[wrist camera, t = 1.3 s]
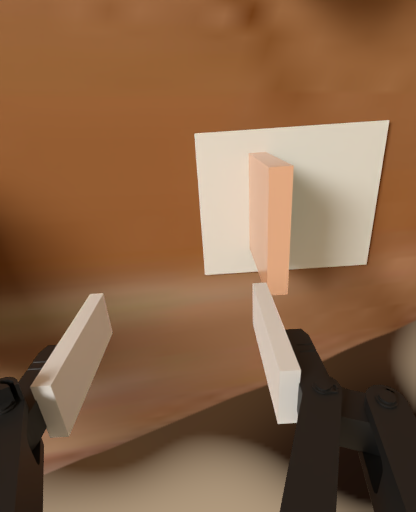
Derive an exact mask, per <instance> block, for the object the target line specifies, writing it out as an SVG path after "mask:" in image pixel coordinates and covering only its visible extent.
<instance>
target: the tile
mask: <svg viewBox="0 0 416 512" xmlns="http://www.w3.org/2000/svg"><path fill="white" fill-rule="evenodd" d="M293 171H294V166H293V165H291V164H289V163H287V162H285V161H283V160H281V159H279V158H277V157H275V156H273V155H271V154H269V153H267V152H257V153H249V248H250V251H251V254H252V256H253V259H254V262H255V265H256V267H257V270H258V273H259V275H260V278H261V281H262V283H267V286H268V288H269V291H270V293H271V295H283V294H288V277H289V256H290V235H291V213H292V192H293Z"/></svg>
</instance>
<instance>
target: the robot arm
mask: <svg viewBox="0 0 416 512" xmlns="http://www.w3.org/2000/svg"><path fill="white" fill-rule="evenodd" d="M253 326H254V330H255V334H256V338H257V342H258V346H259V350H260V354H261V358H262V362H263V366H264V370H265V374H266V378H267V382H268V386H269V390H270V394H271V398H272V402H273V406H274V410H275V414H276V418H277V422H278V424H285V423H297V425H296V430H295V435H294V440H293V446H292V451H291V456H290V462H289V467H288V472H287V477H286V482H285V487H284V493H283V498H282V503H281V508H280V512H336V501H337V482H338V463H339V446H341V447H345V448H349V449H353V450H357V451H358V453H359V457H360V461H361V465H362V468H363V472H364V476H365V479H366V483H367V487H368V490H369V494H370V498H371V502H372V505H373V509H374V512H416V418H415V416H414V414H413V412H412V410H411V408H410V406H409V404H408V401H407V400H406V399H405V397H404V396H403V395H402V394H401V393H399V392H398V391H397V390H395V389H393V388H391V387H388V386H384V385H373V386H371V387H369V388H368V389H367V391H366V393H363V392H358V391H353V390H349V389H345V388H343V387H341V386H340V384H339V383H338V382H337V381H336V380H335V379H333V378H332V377H330V376H329V375H328V373H327V371H326V369H325V367H324V365H323V363H322V361H321V359H320V357H319V355H318V353H317V352H316V349H315V347H314V345H313V343H312V341H311V339H310V337H309V335H308V334H307V333H305V332H304V331H303V330H302V329H289V330H285V329H284V326H283V324H282V321H281V318H280V316H279V313H278V311H277V308H276V306H275V303H274V301H273V298H272V296H271V293H270V291H269V288H268V286H267V283H253ZM112 333H113V332H112V327H111V323H110V319H109V315H108V310H107V306H106V302H105V297H104V293H98V294H90V295H89V296H88V298H87V300H86V301H85V303H84V304H83V306H82V307H81V309H80V310H79V312H78V313H77V315H76V317H75V318H74V320H73V321H72V323H71V324H70V326H69V327H68V329H67V330H66V332H65V334H64V335H63V337H62V338H61V340H60V341H59V343H58V344H57V345H49V346H47V347H46V348H45V349H43V350H42V351H41V352H40V353H39V354H38V355H37V356H36V358H35V359H34V361H33V363H32V364H31V365H30V366H29V368H28V370H27V371H26V372H25V374H24V375H23V376H22V378H21V379H20V381H19V382H18V381H17V379H15V378H13V377H5V378H1V379H0V512H43V466H44V444H43V441H42V438H41V437H42V435H43V433H44V431H45V429H46V428H47V431H48V433H49V436H50V438H53V437H69V435H70V433H71V431H72V428H73V426H74V424H75V421H76V419H77V416H78V414H79V412H80V409H81V407H82V405H83V402H84V400H85V397H86V395H87V393H88V390H89V388H90V386H91V383H92V381H93V379H94V376H95V374H96V371H97V369H98V367H99V364H100V362H101V360H102V357H103V355H104V352H105V350H106V348H107V345H108V343H109V341H110V338H111V336H112ZM297 417H298V420H297Z"/></svg>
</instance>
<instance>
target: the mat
mask: <svg viewBox="0 0 416 512" xmlns="http://www.w3.org/2000/svg"><path fill="white" fill-rule="evenodd" d="M388 126H389V120H383V121H368V122H354V123H339V124H325V125H310V126H296V127H282V128H267V129H253V130H238V131H224V132H209V133H195V147H196V161H197V174H198V187H199V200H200V214H201V227H202V240H203V253H204V267H205V275H212V274H227V273H243V272H258V270H257V267H256V265H255V262H254V259H253V256H252V254H251V251H250V248H249V153H257V152H267V153H269V154H271V155H273V156H275V157H277V158H279V159H281V160H283V161H285V162H287V163H289V164H291V165H293V166H294V171H293V192H292V213H291V235H290V256H289V269H305V268H321V267H336V266H352V265H367V258H368V252H369V246H370V239H371V233H372V227H373V221H374V214H375V208H376V202H377V195H378V189H379V183H380V176H381V170H382V164H383V158H384V151H385V145H386V139H387V132H388Z"/></svg>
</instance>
